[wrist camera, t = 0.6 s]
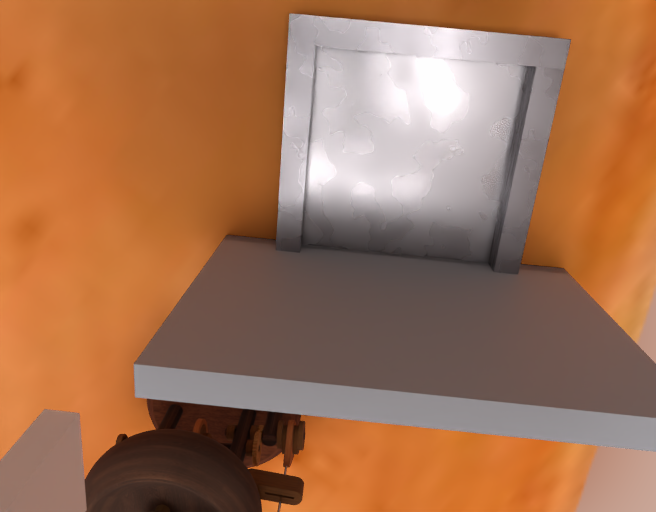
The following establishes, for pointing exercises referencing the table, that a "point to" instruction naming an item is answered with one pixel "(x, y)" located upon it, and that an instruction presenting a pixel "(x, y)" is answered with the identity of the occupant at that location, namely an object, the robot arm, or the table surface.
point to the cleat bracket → (414, 138)
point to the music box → (198, 462)
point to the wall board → (402, 345)
